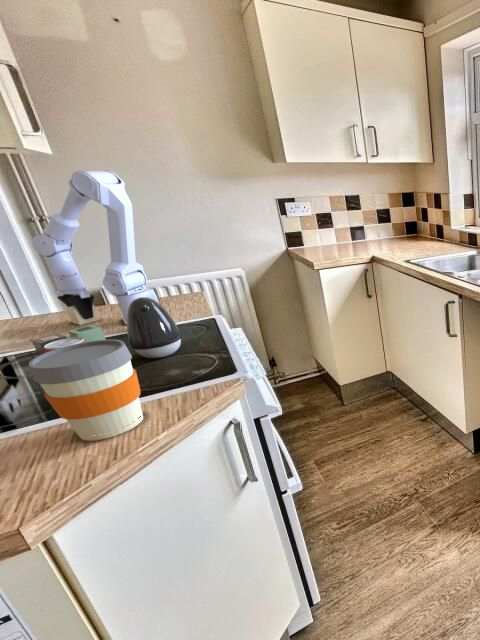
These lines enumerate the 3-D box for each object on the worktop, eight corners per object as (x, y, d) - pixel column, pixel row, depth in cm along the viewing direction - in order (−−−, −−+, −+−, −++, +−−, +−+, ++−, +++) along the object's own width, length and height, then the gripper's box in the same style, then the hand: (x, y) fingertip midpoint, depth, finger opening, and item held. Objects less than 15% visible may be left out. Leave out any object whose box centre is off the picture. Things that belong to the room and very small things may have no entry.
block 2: (92, 317, 136) (85, 302, 134) (100, 319, 134) (93, 304, 132) (72, 322, 132) (65, 307, 130) (80, 324, 130) (73, 309, 128)
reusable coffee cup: (171, 411, 82) (144, 341, 77) (101, 451, 71) (63, 372, 65) (122, 405, 85) (92, 336, 79) (46, 442, 74) (5, 365, 68)
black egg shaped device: (137, 366, 102) (113, 307, 96) (135, 353, 109) (113, 297, 103) (188, 354, 108) (168, 297, 102) (183, 343, 115) (165, 289, 109)
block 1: (65, 350, 111) (57, 333, 110) (74, 354, 109) (66, 336, 108) (40, 358, 107) (31, 340, 105) (49, 361, 105) (39, 343, 103)
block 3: (98, 341, 117) (91, 324, 115) (107, 344, 115) (100, 327, 113) (75, 348, 113) (67, 330, 111) (84, 351, 111) (76, 333, 109)
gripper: (37, 275, 127) (56, 318, 132) (59, 280, 121) (79, 324, 127) (67, 270, 133) (85, 311, 138) (90, 274, 127) (108, 317, 132)
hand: (84, 317), depth 133 cm, fingers closed on block 2, 5 cm apart
